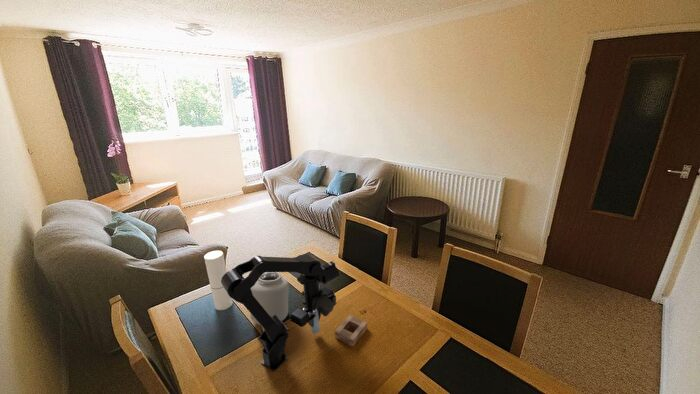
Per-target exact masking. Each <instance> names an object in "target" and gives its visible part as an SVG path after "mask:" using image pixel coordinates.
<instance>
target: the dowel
mask: <svg viewBox="0 0 700 394" xmlns="http://www.w3.org/2000/svg"><path fill="white" fill-rule="evenodd" d="M313 314H314V315H316V316H315V317H314V326H313V327H311V326H310V327H311V328H310V329H311V333H312V334H318V333H319V332H320V320H319V317H318V310H317V309H316V310H315V311H314V310H313Z"/></svg>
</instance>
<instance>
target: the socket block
mask: <svg viewBox="0 0 700 394" xmlns="http://www.w3.org/2000/svg"><path fill="white" fill-rule="evenodd" d="M350 328H351V329H353V330H354V332H351V331H349V330H348V329H350ZM367 330H368V322H367V321H365V320H362V319H360V318H358V317H355V316H353V315H351V314H349V315H347V317H346V318H345V319H344V321H343V322H342V323H341V324H340V325H339V326H338V327H337V328H336V330H335V331H334V337H335V339H337V340H339V341H341V342H342V343H345V344H346V345H348V346H350V347H355V345H356V344H357V343H358V342H359V340H360V339H361V338H362V337H363V335H364V334H365V333H366V331H367Z"/></svg>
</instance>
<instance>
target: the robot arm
mask: <svg viewBox="0 0 700 394" xmlns="http://www.w3.org/2000/svg"><path fill="white" fill-rule="evenodd" d="M269 272H274V273H298V274H300V275H299V276H298V277H297V279H296V280H297V282H298V283H300V285H302V286H303V290H302V291H301V295H302V296H304V300H303V301H302V305H304V307H303V308H302V309H300V308H296V309H295V310H294V311H293V312H291V314H290V315H289V321H290V322H291V323H293V324H295V325H297V326H299V327H301V328H303V327H305V326H306V325H307V324H308V325H309V326H310V327H313V326H314V317H315V316H316V315H314V314H313V310H314V311H315V310H316V309H317V310H318V317H319V321H320V319H321V316H323V317H328V316H329V315H330V313H331V312H333V311H334V307H335V306H336V305H337V296H336V295H335V291H334V290H333V289H330V288H328V287H325V286H322V287H321V286H320V285H321V283H322V284H323V285H326V284H328V283H330V282H332V281H335V280H336V279H339V277H340V272H339V270H338V267H336V263H335V262H334V261H329V262H327V263H325V264H323V265H321V261H320V260H318V259H317V258H315V257H314V256H312V255H311V254H309V253H307V254H306V253H305V254H299V255H297V256H296V257H295V256H294V257H282V256H281V257H280V256H261V255H254V256H253V257H252V258H251V259H250V260H247V261H245V262H242V263H240V264H238V265H236V266H235V267H233V268H232V269H231V270H228V271H227V273H225V274H224V275H223V277H222V280H221V284H222V286H223V287H224V289H225V290H226V292H227V293H228V295H229V296H230V297H231V298H232V300H234V301H235V302H237V303H239V304H242V305H243V306H244V308H245V309H246V310H247V311H248V312H249V313H251V314H252V315H253V316H254V318H255V319H256V320H257V321H258V322H259V323H260V324H261V325H260V326H261V328H262V330H263V331H262V333H261V334H260V336H259V337H258V340H259V343H260V345H261V346H262V347H263V349H262V350H261V352H262V360H261V361H260V363H261V364H262V365H263V366H264V367H266V368H267V369H269V370H271V372H276V370H277V369H279V367H280V366H281V365H282V364H283V363H285V361H286V360H287V359H288V356H287V355H286V354H285V348H286V345H287V341H288V340H287V339H288V338H289V331H290V330H289V328H288V327H287V326H286V324H285V323H284V322H283V321H281V320H280V319H279V317H278V316H277V315H276V314H275V315H274V316H273V317H271V316H270V315H269V314H268V313H267V312H266V311H265V309H264V308H263V307H262V306H261V304H260V303H259V302H258V301H257V299H256V298H255V297H254V296H253V294H252V290H251V287H253V286H254V285H255V284H256V282H257V281H258V279H259V278H260V276H261V275H262V274H264V273H269ZM248 273H249V274H248ZM245 274H248V275H247V276H246V277H244V275H245ZM251 314H250V315H251Z"/></svg>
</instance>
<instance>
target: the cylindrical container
mask: <svg viewBox="0 0 700 394" xmlns="http://www.w3.org/2000/svg"><path fill="white" fill-rule="evenodd" d="M203 258H204V259H203V260H204V262H205V267H206V273H207V277H208V281H209V286H210V291H211V295H212V298H213V299H212V300H213V303H214V308H215V310H217V311H224V310H227V309H228V308H230V307H231V306H232V305H233V299H232V298H231V297H230V296H229V295H228V293H227V292H226V290H225V289H224V287H223V286H222V284H221V280H222V277H223V275H224V274H225V273H227V272H228V271H227V267H226V261H225V257H224V252H223V251H222V250H212V251H209V252H207V253H206V254H204V256H203Z"/></svg>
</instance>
